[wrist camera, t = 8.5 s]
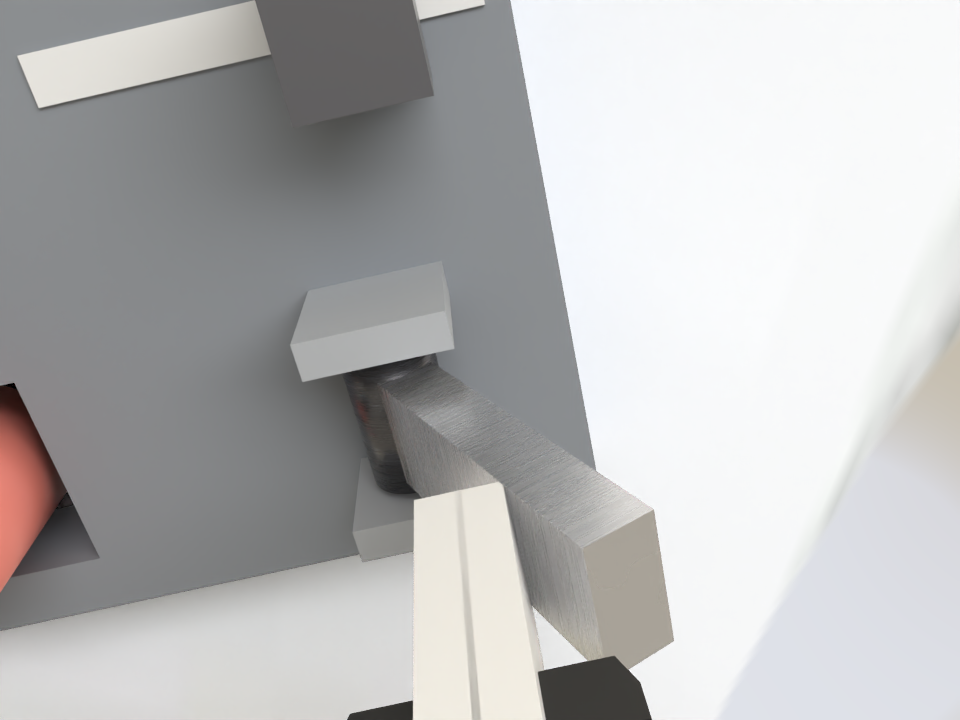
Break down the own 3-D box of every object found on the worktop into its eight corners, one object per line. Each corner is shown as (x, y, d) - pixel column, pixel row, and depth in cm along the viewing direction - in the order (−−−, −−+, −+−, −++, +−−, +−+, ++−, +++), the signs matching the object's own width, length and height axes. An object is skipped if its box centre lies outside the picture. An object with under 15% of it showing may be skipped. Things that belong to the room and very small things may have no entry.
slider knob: (313, 101, 17) (292, 127, 15) (265, -65, 16) (234, -69, 13) (431, 74, 17) (433, 95, 15) (393, -95, 16) (388, -106, 13)
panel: (-96, 588, 25) (-235, 760, 20) (-455, 7, 19) (-812, 26, 13) (581, 442, 25) (627, 578, 19) (459, -213, 18) (475, -285, 13)
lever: (362, 468, 20) (589, 710, 13) (325, 352, 19) (553, 543, 11) (438, 433, 21) (696, 642, 13) (407, 319, 20) (673, 479, 12)
